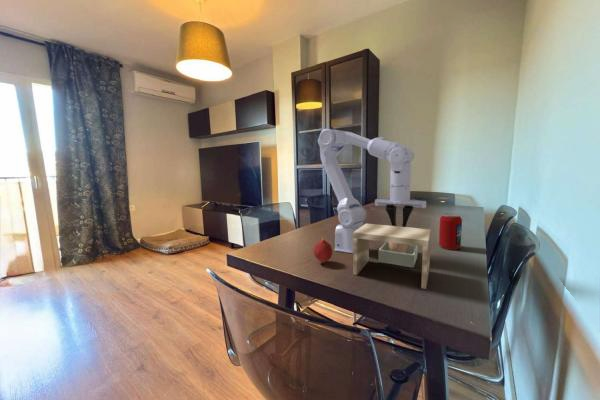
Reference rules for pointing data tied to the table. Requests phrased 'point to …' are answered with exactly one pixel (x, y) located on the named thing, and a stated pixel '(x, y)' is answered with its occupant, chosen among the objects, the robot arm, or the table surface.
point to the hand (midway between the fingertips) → (398, 229)
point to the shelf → (395, 236)
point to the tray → (398, 256)
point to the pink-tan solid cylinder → (398, 247)
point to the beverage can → (450, 231)
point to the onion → (323, 251)
